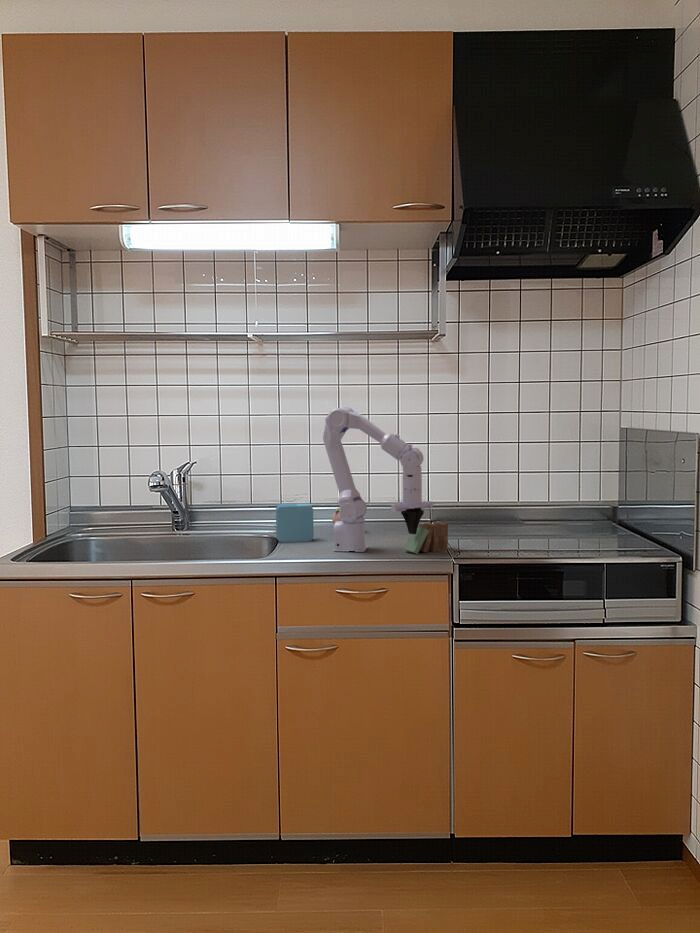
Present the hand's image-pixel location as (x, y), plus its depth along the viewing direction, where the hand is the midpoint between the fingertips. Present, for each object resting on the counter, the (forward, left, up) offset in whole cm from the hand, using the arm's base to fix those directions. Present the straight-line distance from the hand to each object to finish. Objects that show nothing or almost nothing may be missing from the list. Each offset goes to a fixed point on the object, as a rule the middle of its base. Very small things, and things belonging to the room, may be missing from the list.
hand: (412, 533), depth 240 cm
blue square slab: (-41, +14, -6) cm, 44 cm away
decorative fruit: (-27, +30, -6) cm, 41 cm away
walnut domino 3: (+8, +8, -6) cm, 12 cm away
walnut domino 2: (+5, +5, -6) cm, 9 cm away
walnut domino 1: (+2, +2, -6) cm, 6 cm away
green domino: (-1, -1, -6) cm, 6 cm away
